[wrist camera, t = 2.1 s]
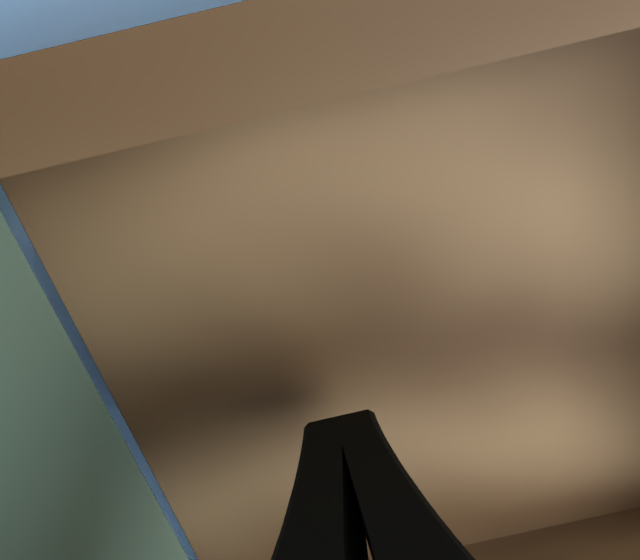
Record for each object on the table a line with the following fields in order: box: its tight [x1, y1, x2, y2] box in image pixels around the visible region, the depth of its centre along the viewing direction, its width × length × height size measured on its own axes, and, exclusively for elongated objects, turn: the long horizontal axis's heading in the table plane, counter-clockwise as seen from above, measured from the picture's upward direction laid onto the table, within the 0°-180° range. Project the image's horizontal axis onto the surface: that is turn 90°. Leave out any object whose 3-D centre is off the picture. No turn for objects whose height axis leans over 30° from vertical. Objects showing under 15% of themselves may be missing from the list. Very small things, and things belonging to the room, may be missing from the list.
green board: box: [0, 211, 189, 560], centre depth 9 cm, size 17×1×5 cm, turn 12°
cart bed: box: [0, 0, 640, 560], centre depth 10 cm, size 16×16×6 cm
